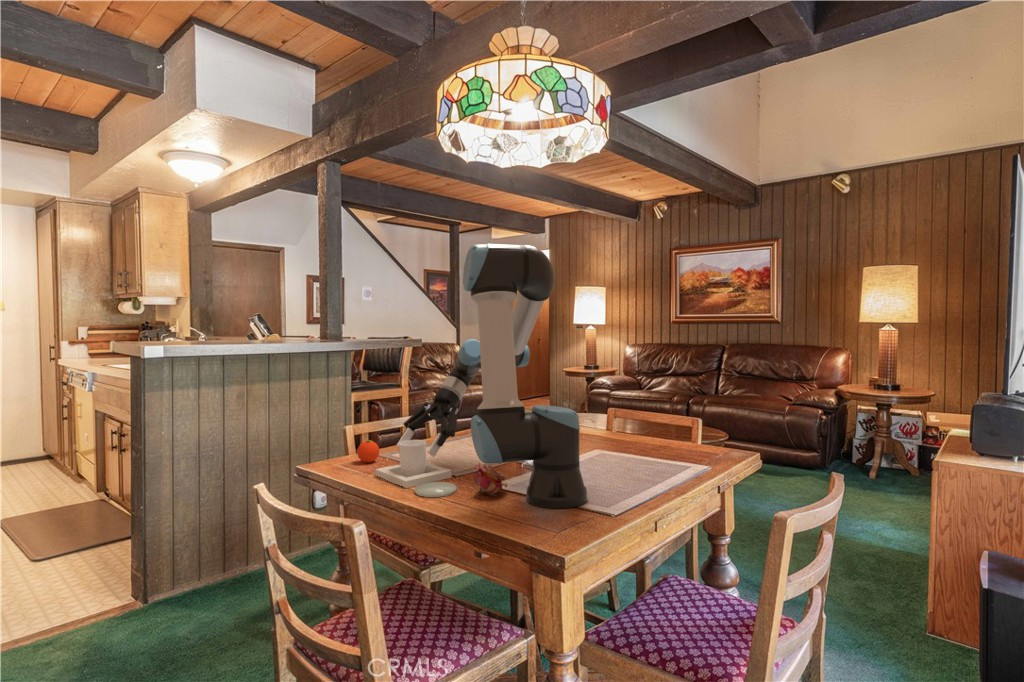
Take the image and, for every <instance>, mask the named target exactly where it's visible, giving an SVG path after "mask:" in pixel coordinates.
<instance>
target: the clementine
mask: <svg viewBox="0 0 1024 682" xmlns="http://www.w3.org/2000/svg"><path fill="white" fill-rule="evenodd" d="M356 452H357V453H356V455H357V457H358V459H359V460H360V461H362V462H363V463H367V464H368V463H369V464H370V463H373V462H374V461H376V460H377V459H378V457H379V455H380V447H379V446H378V444H377V443H376V442H374V441H373V440H372V439H371V440H364V441H363V442H361V443H360V444H359V446H358V447H357V451H356Z"/></svg>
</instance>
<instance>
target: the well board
mask: <svg viewBox="0 0 1024 682" xmlns="http://www.w3.org/2000/svg"><path fill="white" fill-rule="evenodd" d="M377 476H378V477H377ZM375 477H377V478H379V477H381V478H380V479H382V478H383V479H382V480H384V479H385V480H384V481H387V480H388V481H387V482H389V481H391V482H393V483H392V484H394V483H395V484H394V485H396V484H398V485H397V486H399V485H400V486H399V487H401V486H403V487H402V488H404V487H405V488H404V489H409V488H408V487H411V488H413V487H412V486H415V487H417V485H422V484H425V483H431V482H440V481H442V480H446V479H450V478H452V470H451V469H448V468H445V467H442V466H439V465H435V464H432V463H429V462H427V461H426V466H425V473H424V474H420V475H415V476H411V477H404V476H401V468H400V463H399V464H394V465H390V466H389V465H388V466H385V467H380V468H375ZM391 482H390V483H391Z"/></svg>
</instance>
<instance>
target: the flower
mask: <svg viewBox="0 0 1024 682" xmlns="http://www.w3.org/2000/svg"><path fill="white" fill-rule="evenodd" d="M474 467H475V470H476V471H475V472H476V473H474V472H472V474H473V483H474V484H475V486H477V487H479V490H478V491H477V492H476V495H478V496H480V495H481V494H482V493H484V494H486V493H487V495H489V496H495V497H496V496H497V497H498V495H497V493H499V492H501V491H502V490H503V486H504V487H505V488H507V487H508V486H509V484H508V483H505V482H503V481H505V480H506V476H504V475H503V473H501V472H499V471H498V470H497V469H495V468H494V467H493V466H491V464H490V465H488V466H487V465H486V463H483V462H482V464H481V463H480V462H478V464H475V465H474Z"/></svg>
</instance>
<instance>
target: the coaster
mask: <svg viewBox="0 0 1024 682" xmlns="http://www.w3.org/2000/svg"><path fill="white" fill-rule="evenodd" d="M456 492H457V485H456V484H454V483H451V482H446V481H435V482H431V483H425V484H422V485H419V486H415V488H414V494H415V493H416V494H417V495H416V494H415V495H416V496H418V495H419V496H418V497H421V496H424V497H423V498H427V497H437V498H443V497H442V496H444V497H448V495H449V496H451V495H454V494H455V493H456Z"/></svg>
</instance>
